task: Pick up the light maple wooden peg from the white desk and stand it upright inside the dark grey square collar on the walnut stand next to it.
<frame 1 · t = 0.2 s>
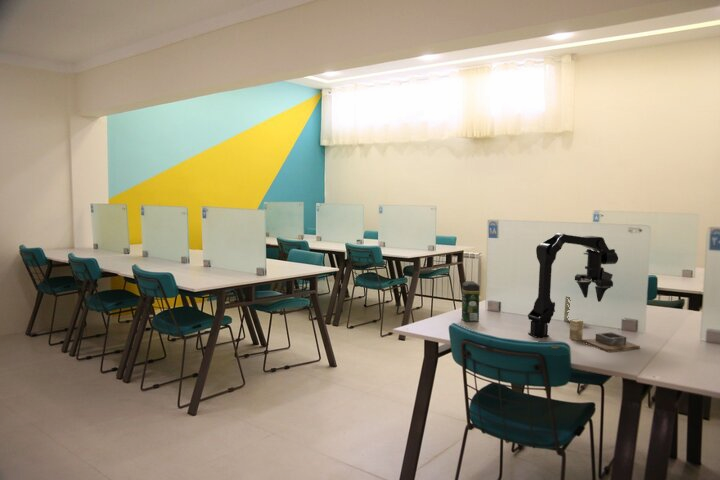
hand: (592, 299, 240), 14 cm above the table, tool pointing down, fingers open, 9 cm apart
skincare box: (571, 321, 260), on the table
maple peg: (575, 338, 228), on the table
coffee jar: (470, 320, 261), on the table
collar stand: (610, 345, 219), on the table
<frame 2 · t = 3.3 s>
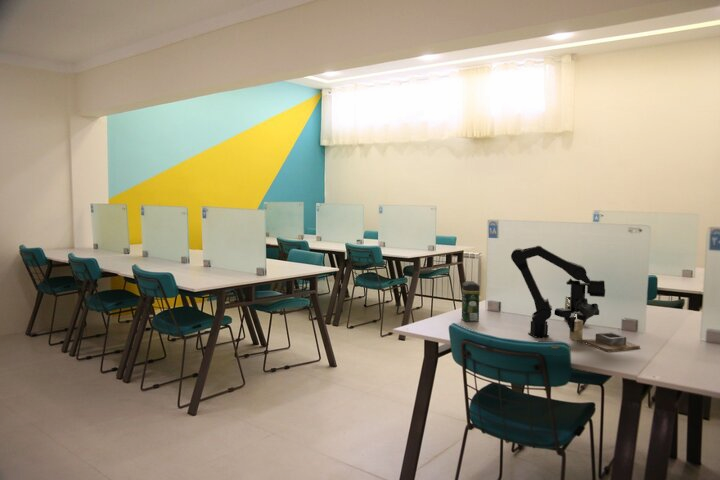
hand: (576, 331, 228), 3 cm above the table, tool pointing down, fingers closed on maple peg, 4 cm apart
maple peg: (575, 338, 228), on the table, touching gripper
everything else where it was.
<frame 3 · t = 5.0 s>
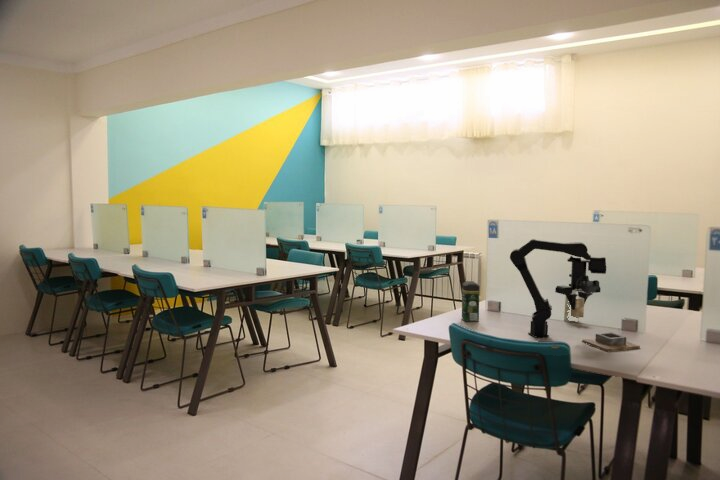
hand: (577, 309, 227), 13 cm above the table, tool pointing down, fingers closed on maple peg, 4 cm apart
maple peg: (576, 316, 227), point 10 cm above the table, touching gripper
everything else where it was.
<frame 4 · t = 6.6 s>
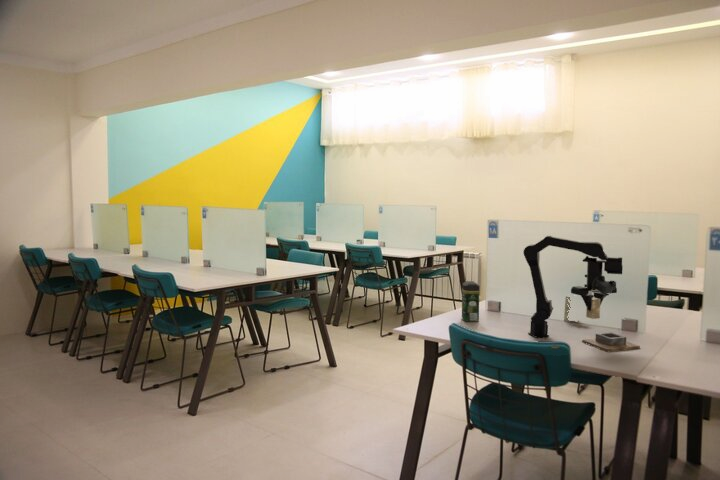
hand: (593, 310, 223), 13 cm above the table, tool pointing down, fingers closed on maple peg, 4 cm apart
maple peg: (592, 317, 223), point 10 cm above the table, touching gripper
everything else where it was.
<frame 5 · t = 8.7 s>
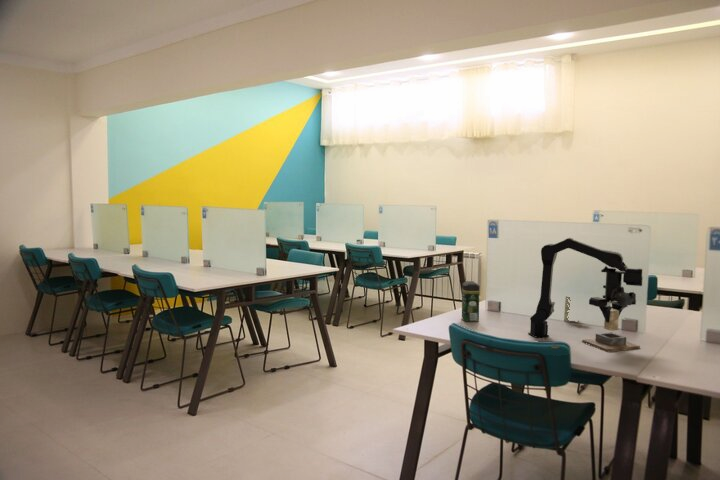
hand: (611, 321, 218), 10 cm above the table, tool pointing down, fingers closed on maple peg, 4 cm apart
maple peg: (611, 329, 219), point 7 cm above the table, touching gripper
everything else where it was.
when the fingers open (5 cm above the table, at t = 10.4 s): maple peg stays where it is, resting on collar stand.
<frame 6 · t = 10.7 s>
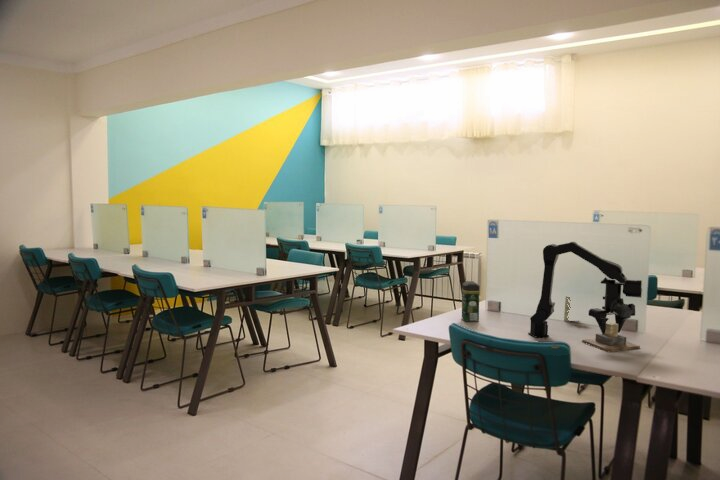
hand: (610, 333, 219), 5 cm above the table, tool pointing down, fingers open, 7 cm apart
maple peg: (610, 342, 219), point 1 cm above the table, touching collar stand
everything else where it was.
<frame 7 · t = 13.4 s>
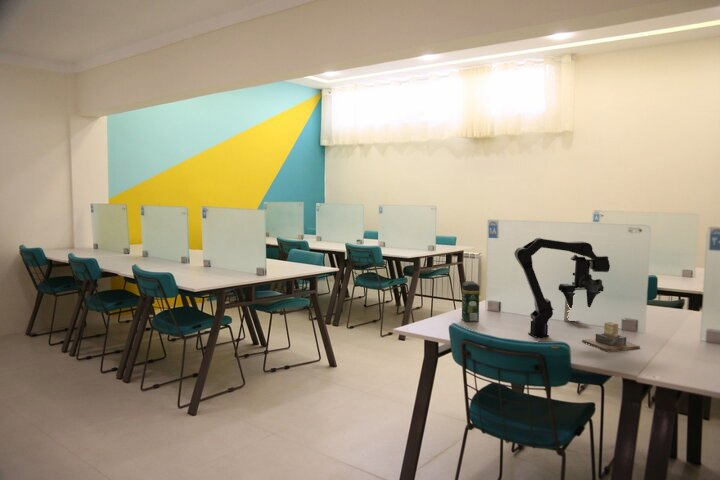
hand: (579, 307, 230), 13 cm above the table, tool pointing down, fingers open, 9 cm apart
nothing on the table moved.
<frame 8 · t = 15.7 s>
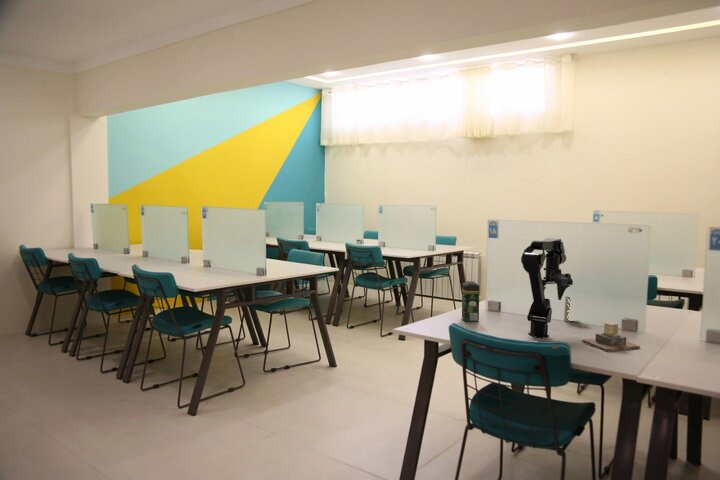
hand: (551, 300, 243), 13 cm above the table, tool pointing down, fingers open, 9 cm apart
nothing on the table moved.
at the end: maple peg 0.0 cm off-centre on the collar stand, point 1.0 cm above the collar stand's base; maple peg tilted 0°; the gripper is holding nothing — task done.
